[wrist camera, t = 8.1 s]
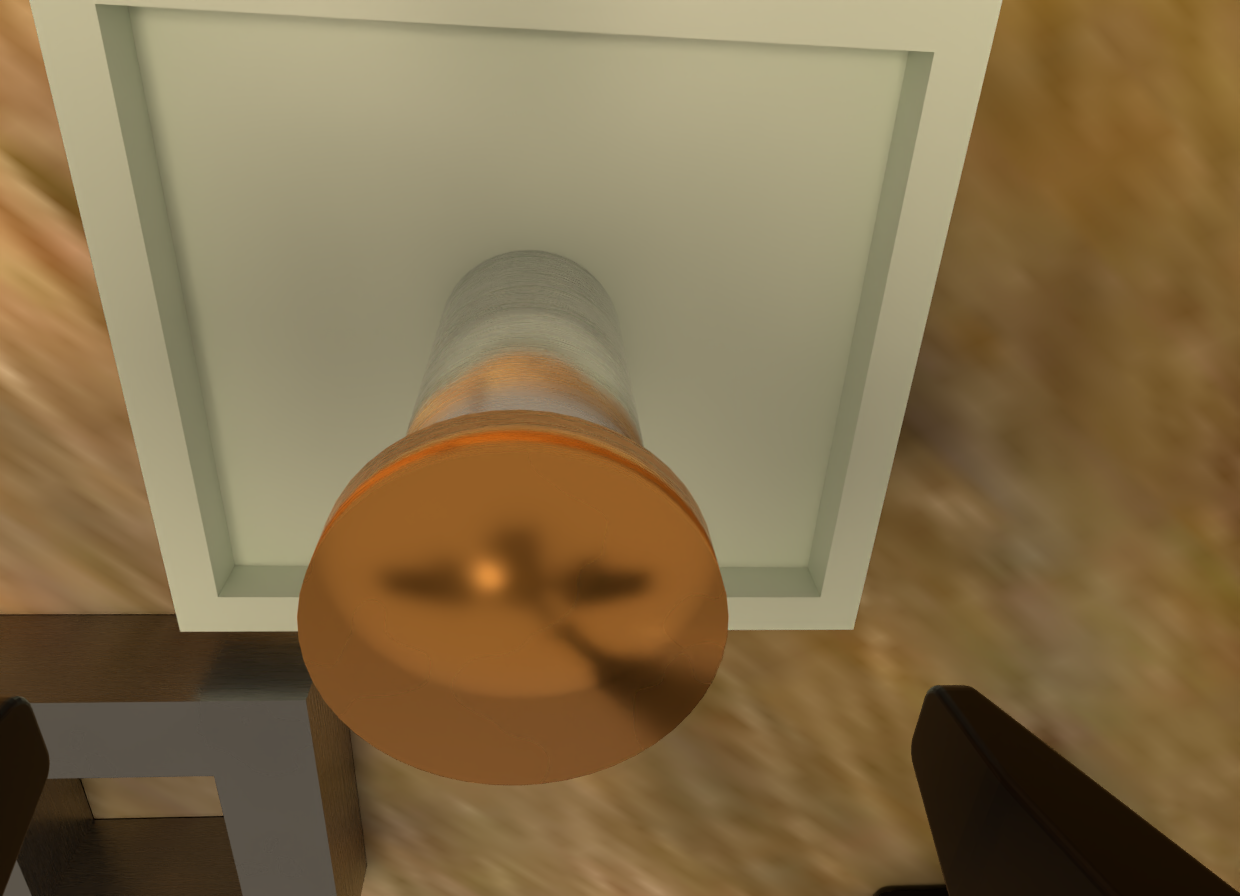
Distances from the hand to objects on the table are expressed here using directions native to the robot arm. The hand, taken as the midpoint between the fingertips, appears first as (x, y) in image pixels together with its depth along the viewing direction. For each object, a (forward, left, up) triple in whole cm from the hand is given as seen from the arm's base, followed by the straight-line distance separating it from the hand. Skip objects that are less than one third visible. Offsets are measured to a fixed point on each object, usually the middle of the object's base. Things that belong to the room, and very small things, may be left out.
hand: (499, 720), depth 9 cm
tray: (0, 0, -12) cm, 12 cm away
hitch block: (+10, +13, -12) cm, 20 cm away
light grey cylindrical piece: (0, 0, -11) cm, 11 cm away
